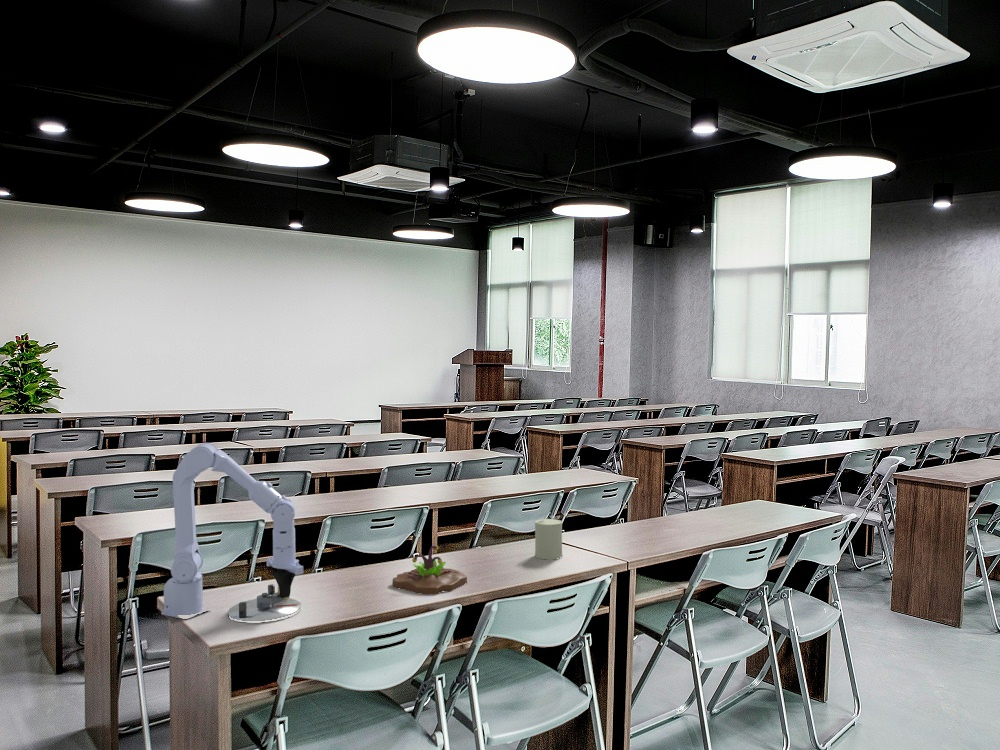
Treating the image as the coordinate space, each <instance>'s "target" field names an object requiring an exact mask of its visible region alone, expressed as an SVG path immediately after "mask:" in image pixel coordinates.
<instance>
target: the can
mask: <svg viewBox="0 0 1000 750" xmlns="http://www.w3.org/2000/svg"><path fill="white" fill-rule="evenodd" d="M534 534H535V535H534V537H535V539H534V540H535V541H534V542H535V544H534V545H535V547H534V549H535V551H534V553H535V554H534V557H535V558H536V559H539V560H544V559H546V560H547V559H549V560H548V561H551V560H550V559H554V560H558V559H557V558H559V559H561V558H560V557H562V558H563V557H564V554H563V521H562V520H560V519H556V518H542V519H537V520H535V521H534Z"/></svg>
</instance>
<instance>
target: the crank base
mask: <svg viewBox="0 0 1000 750" xmlns="http://www.w3.org/2000/svg"><path fill="white" fill-rule="evenodd" d="M274 593H276V584H268V585H267V592H262V593H261V595H262V596H263V597H265V596H268V594H274ZM301 605H302V604H301V602H300V601H298V600H296V599H293V598H290V597H289V599H288V600H283V601H281V602H279V603H276V604H274V605H273V606H272V607H271V608H267V609H259V608H257V598H254V599H249V600H244V601H240V602H238V603H236V604H235V605H233V606H232V607H230V608H229V609H228V612H227V613H228V614H229V616H230V617H231V618H233V619H237V620H242V621H265V620H272V619H277V618H281V617H285V616H288V615H291V614H293V613H295V612H297V611H298V610H299V609H300V607H302V606H301ZM228 614H227V615H228Z"/></svg>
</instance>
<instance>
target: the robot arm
mask: <svg viewBox="0 0 1000 750" xmlns="http://www.w3.org/2000/svg"><path fill="white" fill-rule="evenodd" d="M210 468H211V470H210V471H211V472H217V473H218V472H220V473H224V474H226V475H227V476H229V477H230V478H231V479H232V480H234V481H235V482H236V483H238V484H239V485H240V486H242V487H243V488H244V489H246V490H247V492H248V498H249V499H250V500H251V501H252V502H254V504H255V505H257V506H258V507H259V508H260V509H262V510H263V511H264V512H265V513H266V514H270V517H271V520H272V521H273V529H272V557H268V558H266V560H265V561H266V566H267V567H272V568H274V569H277V570H275V571H273V572H272V576H273V577H274V579H275V581H276V583H277V588H278V587H279V592H280V597H281V598H286V597H289V598H290V596H291V589H292V583H293V580H294V578H295V577H296V576H299V575H303V574H304V565H301V564H300V563H299V562H300V560H299V559H297V558H296V528H295V525H296V524H295V522H296V521H295V513H296V507H295V504H294V503H293V502H292V500H291V499H289V498H287V496H286V495H285V494H283V495H282V494H281V493H279V492H278V491H277V490H275V489H274V487H273V483H271V482H270V481H269V482H266V481H265V480H256V479H255V478H254V477H253V476H252V475H250V473H248V472H247V471H246V470H245V469H244V468H243V467H242V466H241V465H239V463H237V462H236V461H235V460H234V459H233V458H232V457H231V456H230V455H228V454H227V453H226V452H225V451H223V450H221V449H218V447H217V446H216V445H214V444H213V443H211V442H202V443H200V444H198V445H197V446H195V447H193V448H192V449H190V451H188V452H187V453H186V454H184V455H183V457H182V460H181V461H180V463H179V465H178V466H177V468H176V469H175V471H174V472H173V474H172V489H173V490H172V492H173V510H174V528H175V532H174V534H175V548H174V553H173V559H174V560H173V563H172V565H171V567H170V574H171V576H172V577H171V578H169V579H168V580H167V581H166V583H165V585H164V588H163V611H162V612H160V613H161V615H163V616H168V617H172V618H177V619H179V618H178V615H191V614H196V613H199V612H201V611H202V610H203V607H204V605H203V604H204V603H203V601H204V600H203V596H204V595H203V593H204V592H203V574H202V573H201V571H200V569H201V568H202V566H203V564H204V559H203V558H204V557H203V555H202V554H201V552H200V550H199V543H198V541H197V526H196V525H197V524H196V508H195V491H194V490H195V489H194V488H195V487H194V480H196V478H197V477H198V476H199V475H201V474H202V473H203V472H205V471H206V470H208V469H210Z"/></svg>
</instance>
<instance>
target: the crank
mask: <svg viewBox="0 0 1000 750" xmlns="http://www.w3.org/2000/svg"><path fill="white" fill-rule="evenodd" d="M289 598H290V597H286V598H281V597H280V592H279V587H278V586H277V592H276V591H275V593H274V594H268V596H265V597H263V596H262V594H260V595H257V596H256V599H257V608H259V609H267V608H271V607H272V606H273V605H274V604H276V603H279V602H281V601H283V600H288V599H289Z"/></svg>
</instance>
